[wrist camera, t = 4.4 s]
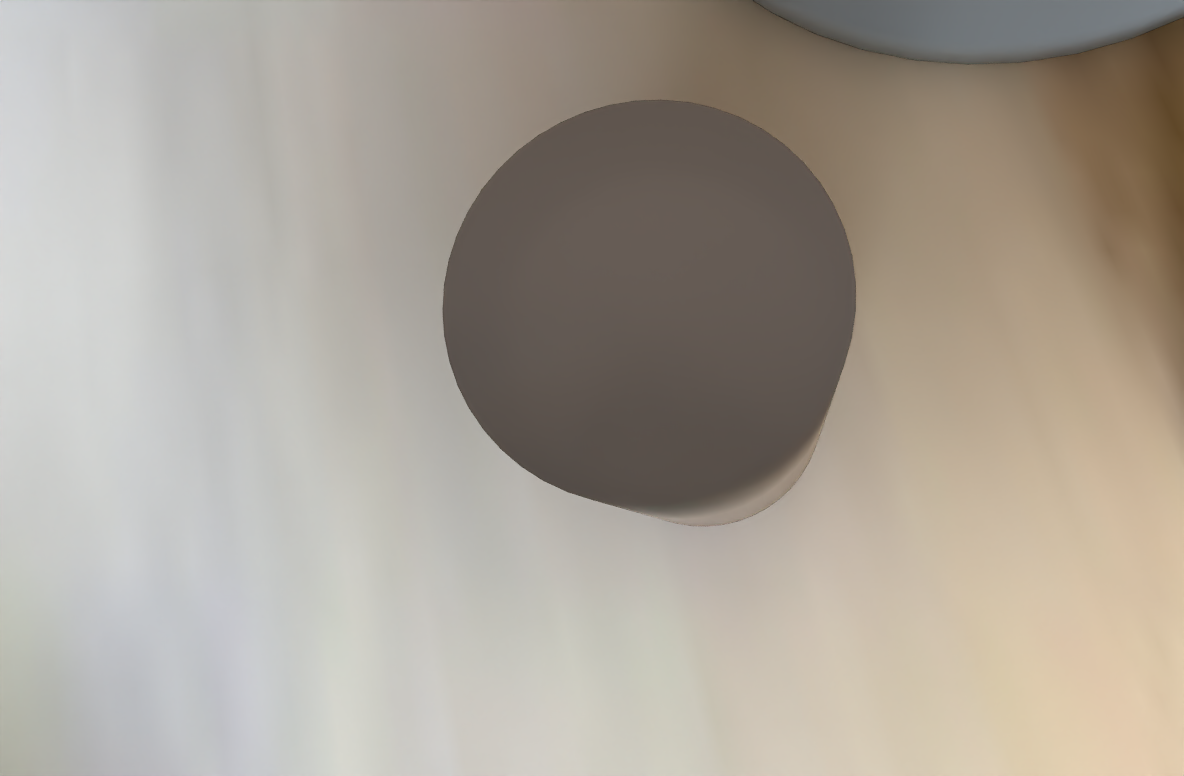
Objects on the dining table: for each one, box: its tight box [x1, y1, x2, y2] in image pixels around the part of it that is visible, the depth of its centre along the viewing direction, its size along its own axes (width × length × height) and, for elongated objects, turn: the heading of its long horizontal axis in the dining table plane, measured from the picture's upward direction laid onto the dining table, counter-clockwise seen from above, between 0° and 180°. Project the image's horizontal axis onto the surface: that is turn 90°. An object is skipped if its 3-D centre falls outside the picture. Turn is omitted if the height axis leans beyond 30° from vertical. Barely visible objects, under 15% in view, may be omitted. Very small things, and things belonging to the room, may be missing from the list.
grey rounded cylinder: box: [443, 100, 856, 526], centre depth 18 cm, size 5×5×10 cm
